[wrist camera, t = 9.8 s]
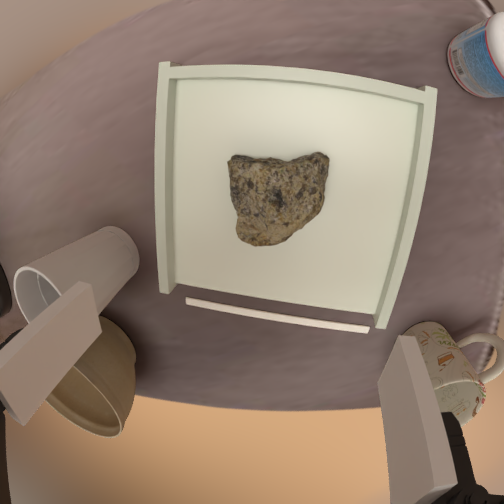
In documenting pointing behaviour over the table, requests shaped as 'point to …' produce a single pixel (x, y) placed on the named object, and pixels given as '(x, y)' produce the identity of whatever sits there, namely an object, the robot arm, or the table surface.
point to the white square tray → (287, 148)
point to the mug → (455, 368)
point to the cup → (78, 271)
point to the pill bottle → (480, 58)
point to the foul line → (277, 316)
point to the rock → (276, 195)
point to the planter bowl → (99, 384)
